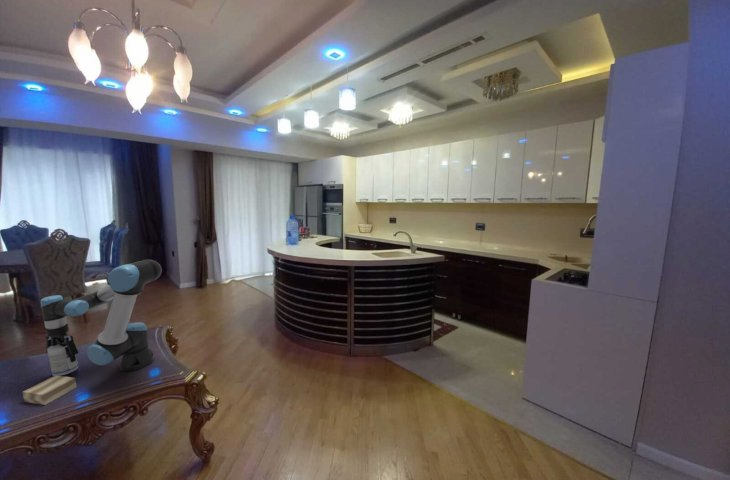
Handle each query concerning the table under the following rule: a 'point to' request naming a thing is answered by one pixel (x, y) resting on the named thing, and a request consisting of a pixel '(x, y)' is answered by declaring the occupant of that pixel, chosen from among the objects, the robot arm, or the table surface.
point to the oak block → (49, 390)
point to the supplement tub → (59, 360)
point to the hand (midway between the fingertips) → (65, 366)
